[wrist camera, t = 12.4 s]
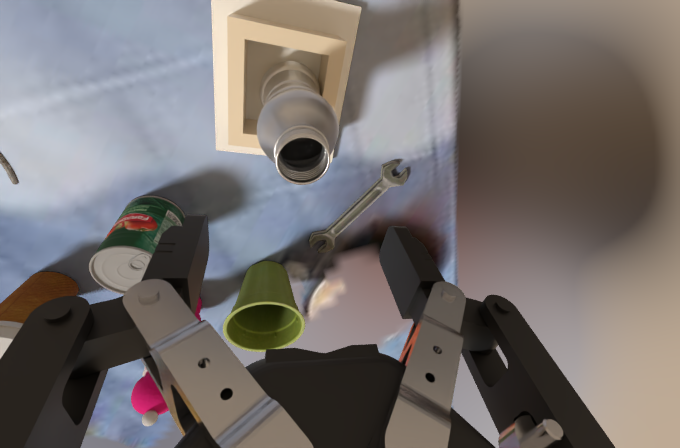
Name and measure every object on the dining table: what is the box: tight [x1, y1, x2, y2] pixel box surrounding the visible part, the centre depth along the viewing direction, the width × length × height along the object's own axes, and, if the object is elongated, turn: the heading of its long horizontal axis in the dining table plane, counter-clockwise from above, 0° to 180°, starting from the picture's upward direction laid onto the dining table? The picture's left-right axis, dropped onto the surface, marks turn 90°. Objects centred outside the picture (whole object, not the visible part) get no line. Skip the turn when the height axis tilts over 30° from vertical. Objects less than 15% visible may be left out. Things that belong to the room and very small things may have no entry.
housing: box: [211, 0, 362, 163], centre depth 35 cm, size 18×15×6 cm
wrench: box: [309, 161, 407, 253], centre depth 50 cm, size 5×2×20 cm
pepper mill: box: [131, 297, 202, 426], centre depth 47 cm, size 7×7×20 cm
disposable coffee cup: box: [0, 272, 79, 359], centre depth 44 cm, size 10×10×12 cm
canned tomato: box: [89, 196, 185, 294], centre depth 40 cm, size 8×8×11 cm
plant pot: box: [223, 261, 305, 352], centre depth 50 cm, size 12×12×11 cm
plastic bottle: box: [257, 61, 339, 185], centre depth 29 cm, size 6×7×20 cm
